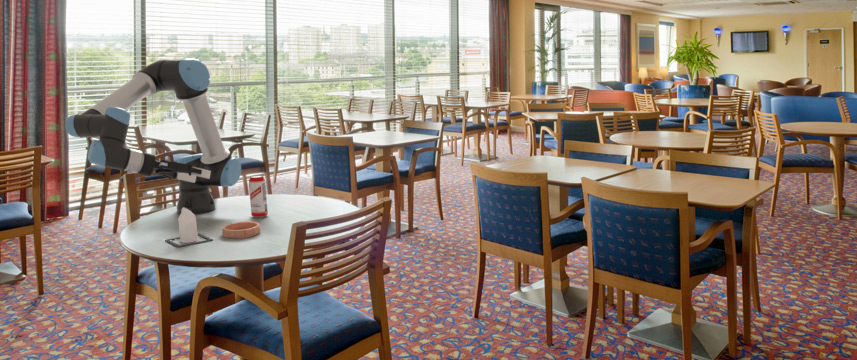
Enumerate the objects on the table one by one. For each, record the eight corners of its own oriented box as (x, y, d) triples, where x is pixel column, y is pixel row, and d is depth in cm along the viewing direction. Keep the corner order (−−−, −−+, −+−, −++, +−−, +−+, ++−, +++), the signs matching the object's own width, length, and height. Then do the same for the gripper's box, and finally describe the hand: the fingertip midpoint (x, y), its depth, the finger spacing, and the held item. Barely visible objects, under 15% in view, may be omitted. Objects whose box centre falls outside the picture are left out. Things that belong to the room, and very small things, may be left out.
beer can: (263, 218, 259) (260, 177, 256) (248, 218, 260) (245, 177, 257) (270, 214, 265) (267, 174, 262) (255, 214, 266) (252, 174, 263)
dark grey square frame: (165, 241, 231) (165, 239, 230) (199, 234, 238) (199, 233, 238) (178, 247, 222) (178, 246, 221) (213, 240, 229) (212, 239, 229)
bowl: (217, 234, 238) (216, 226, 237) (250, 227, 246) (249, 219, 245) (232, 240, 228) (231, 232, 228) (266, 233, 236) (265, 225, 236)
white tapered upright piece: (197, 205, 230) (189, 208, 224) (201, 238, 232) (193, 243, 227) (181, 204, 231) (173, 208, 225) (185, 238, 233) (176, 242, 228)
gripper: (127, 177, 230) (187, 190, 243) (149, 169, 211) (214, 183, 224) (131, 156, 232) (191, 170, 245) (154, 146, 213) (218, 162, 225)
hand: (202, 177), depth 234 cm, fingers open, 13 cm apart
